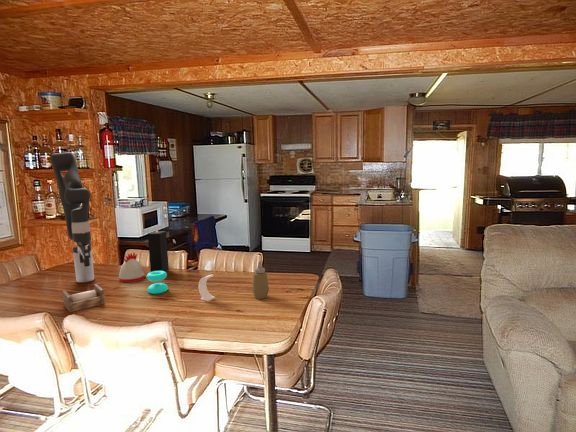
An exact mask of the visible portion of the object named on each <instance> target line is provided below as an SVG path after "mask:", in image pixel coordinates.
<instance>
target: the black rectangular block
mask: <svg viewBox="0 0 576 432" xmlns="http://www.w3.org/2000/svg"><path fill="white" fill-rule="evenodd" d="M167 239H168V238H167V230H160V227H158V226H154V230H153V231H151V232H148V233H147V243H148V254H149V266H150V269H149V270H150V272H153V271H165V272H166V273H167V272H168V271H169V270H170V268H169V253H168V241H167Z"/></svg>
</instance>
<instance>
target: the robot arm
mask: <svg viewBox="0 0 576 432" xmlns="http://www.w3.org/2000/svg"><path fill="white" fill-rule="evenodd" d="M49 159H50V164H51V168H52V171H53V174H54V178H55V179H56V184H57V188H58V194H59V199H60V202H61V206H62V209H63V214H64V218H65V224H66V230H67V231H66V232H67V236H68V239H70V240H71V241H73V243H76V245H75V246H74V247H72V256H73V263H74V271H75V281H76V282H77V283H88V282H92V281H94V280H95V273H94V272H95V271H94V261H93V260H94V259H93V251H92V241H91V240H92V235H91V232H92V231H91V226H90V225H91V224H90V221H89V220H90V219H89V205H90V200H91V192H90V191H89V189H87V188H85V187H83V184H82V181H81V178H80V175H79V168H78V162H77V159H76V156H75V154H74V153H73V152H71V151H65V152H57V153H52V154H50V156H49ZM65 171H66V173H65V175H63V174H62V172H65Z"/></svg>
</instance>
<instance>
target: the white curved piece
mask: <svg viewBox="0 0 576 432" xmlns="http://www.w3.org/2000/svg"><path fill="white" fill-rule="evenodd" d="M212 277H214V274H212V273H211V274H209V275H205V276H203V277H202V278H201V277H200V279H199V282H198V286H197V287H198V291H199V294H200V296H201V297H200V300H201V301H204V302H210V301H212V300H215V299H216V297H215V296H214V295H212V294H211V293H210V292H209V289H208V287H207V281H208V279H210V278H212Z"/></svg>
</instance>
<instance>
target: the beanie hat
mask: <svg viewBox="0 0 576 432" xmlns="http://www.w3.org/2000/svg"><path fill="white" fill-rule="evenodd" d="M137 256H138V253H136V254H135V252H133V253H132V252H130V253H128V254H127V255H126V256H125V258H123V261H124V262H123V264H121V267H120V270H119V274H118V280H119V282H122V283H133V282H139V281H141V280H143V279H146V275H145V274H146V273H145V271H144V268H143V266H142V264H141V263H140V262H139V260H137Z"/></svg>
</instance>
